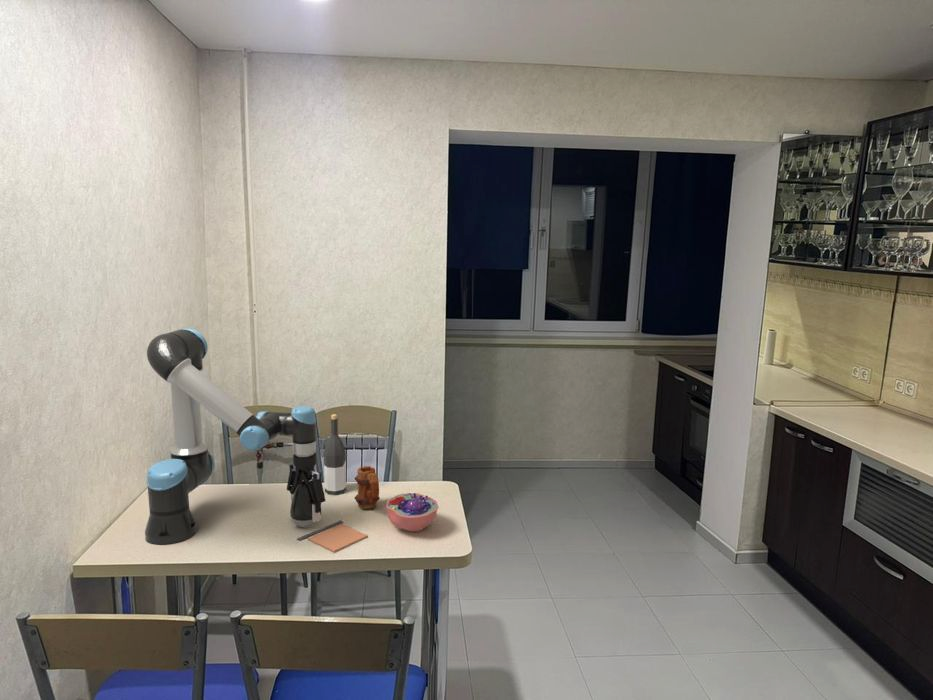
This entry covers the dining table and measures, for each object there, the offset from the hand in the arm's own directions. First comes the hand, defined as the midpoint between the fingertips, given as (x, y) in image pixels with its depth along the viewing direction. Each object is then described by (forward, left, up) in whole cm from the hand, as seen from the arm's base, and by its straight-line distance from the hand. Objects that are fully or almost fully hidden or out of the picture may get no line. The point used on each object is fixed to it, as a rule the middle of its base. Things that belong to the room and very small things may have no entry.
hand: (306, 516), depth 220 cm
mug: (+7, +22, -3) cm, 23 cm away
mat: (+16, 0, -3) cm, 16 cm away
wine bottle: (-15, +25, -3) cm, 29 cm away
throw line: (+8, 0, -3) cm, 8 cm away
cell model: (+28, +22, -3) cm, 36 cm away
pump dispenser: (0, 0, -3) cm, 3 cm away
